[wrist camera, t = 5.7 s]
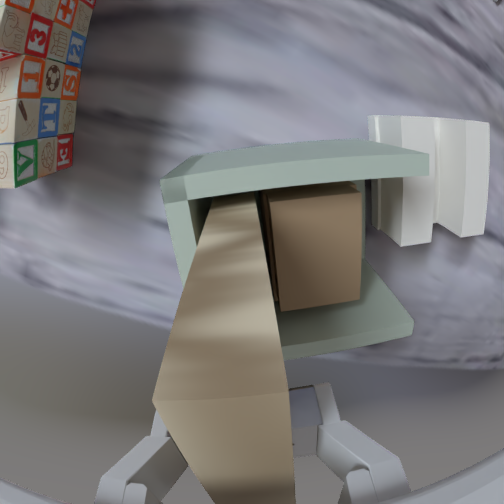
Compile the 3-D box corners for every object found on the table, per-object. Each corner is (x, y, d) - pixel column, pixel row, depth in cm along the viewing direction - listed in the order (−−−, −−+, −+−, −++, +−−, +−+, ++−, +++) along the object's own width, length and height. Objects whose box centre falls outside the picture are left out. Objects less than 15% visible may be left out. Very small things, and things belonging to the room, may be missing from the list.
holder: (455, 118, 24) (491, 123, 19) (453, 215, 28) (485, 233, 23) (367, 115, 24) (396, 115, 19) (371, 224, 28) (397, 247, 23)
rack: (357, 138, 25) (429, 154, 14) (360, 265, 29) (411, 335, 19) (191, 155, 25) (159, 180, 14) (215, 284, 29) (205, 368, 19)
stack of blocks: (75, 167, 24) (-13, 203, 13) (25, 166, 24) (-63, 201, 12) (110, -42, 16) (53, -102, 5) (56, -30, 16) (-11, -71, 4)
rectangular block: (253, 191, 19) (288, 391, 5) (267, 305, 22) (296, 518, 8) (213, 197, 19) (151, 400, 5) (233, 309, 22) (230, 524, 8)
